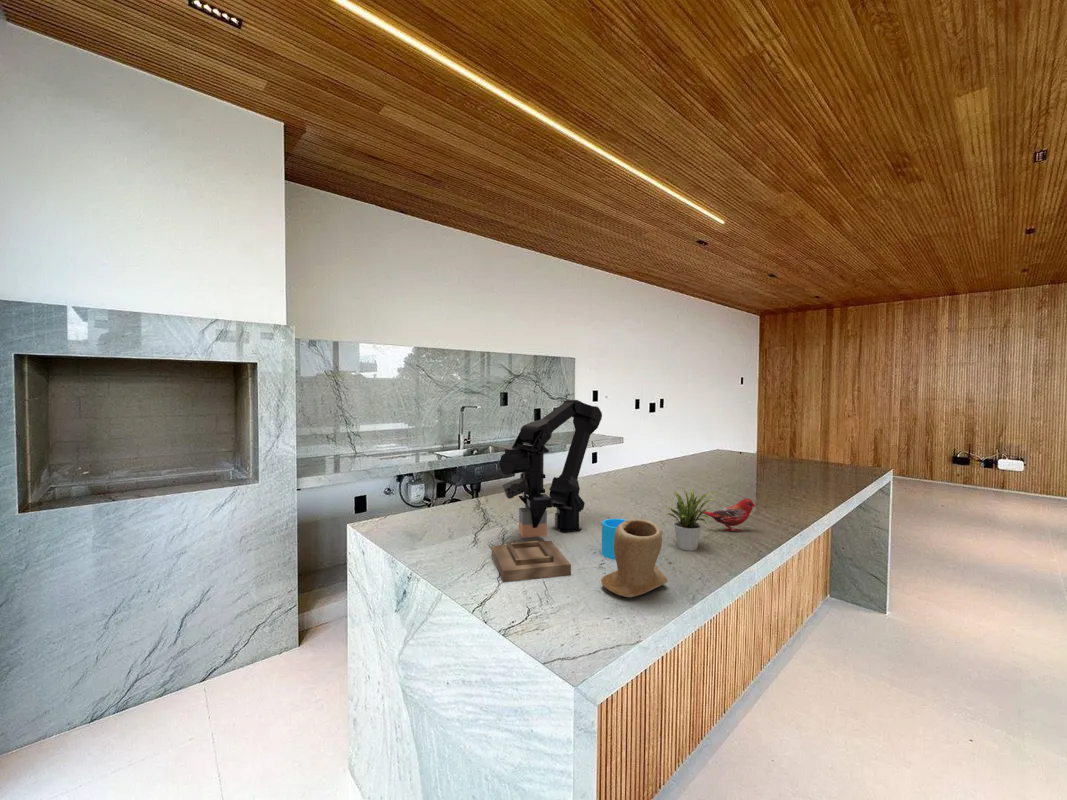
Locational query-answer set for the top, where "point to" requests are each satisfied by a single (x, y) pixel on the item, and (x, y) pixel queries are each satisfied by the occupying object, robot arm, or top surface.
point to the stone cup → (635, 559)
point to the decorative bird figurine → (733, 514)
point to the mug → (609, 536)
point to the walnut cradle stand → (529, 560)
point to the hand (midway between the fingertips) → (532, 525)
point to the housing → (526, 524)
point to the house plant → (688, 521)
